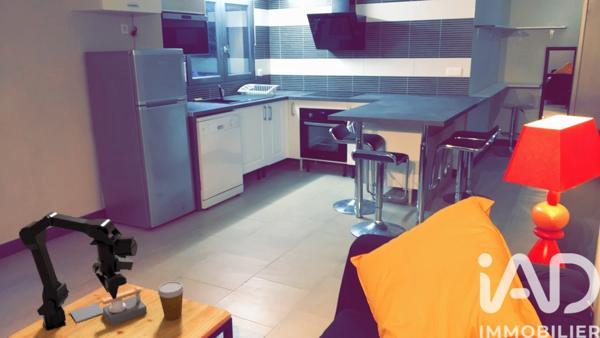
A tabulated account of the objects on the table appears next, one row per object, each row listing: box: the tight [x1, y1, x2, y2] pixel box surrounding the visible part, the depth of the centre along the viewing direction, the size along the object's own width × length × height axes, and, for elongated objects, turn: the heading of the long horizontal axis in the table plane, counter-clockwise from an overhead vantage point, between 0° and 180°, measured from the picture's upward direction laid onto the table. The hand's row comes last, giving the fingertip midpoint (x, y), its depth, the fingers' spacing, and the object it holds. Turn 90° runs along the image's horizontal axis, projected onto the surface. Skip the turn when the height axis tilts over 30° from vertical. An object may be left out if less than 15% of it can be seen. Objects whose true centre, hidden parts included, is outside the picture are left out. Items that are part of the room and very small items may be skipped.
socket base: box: [102, 292, 148, 326], centre depth 177 cm, size 13×10×7 cm
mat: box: [69, 302, 104, 324], centre depth 178 cm, size 10×9×1 cm
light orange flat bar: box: [101, 286, 142, 305], centre depth 176 cm, size 14×3×1 cm, turn 130°
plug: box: [109, 298, 126, 314], centre depth 175 cm, size 6×6×7 cm
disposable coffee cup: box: [157, 280, 185, 321], centre depth 175 cm, size 10×10×12 cm
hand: (111, 295), depth 168 cm, fingers open, 6 cm apart
